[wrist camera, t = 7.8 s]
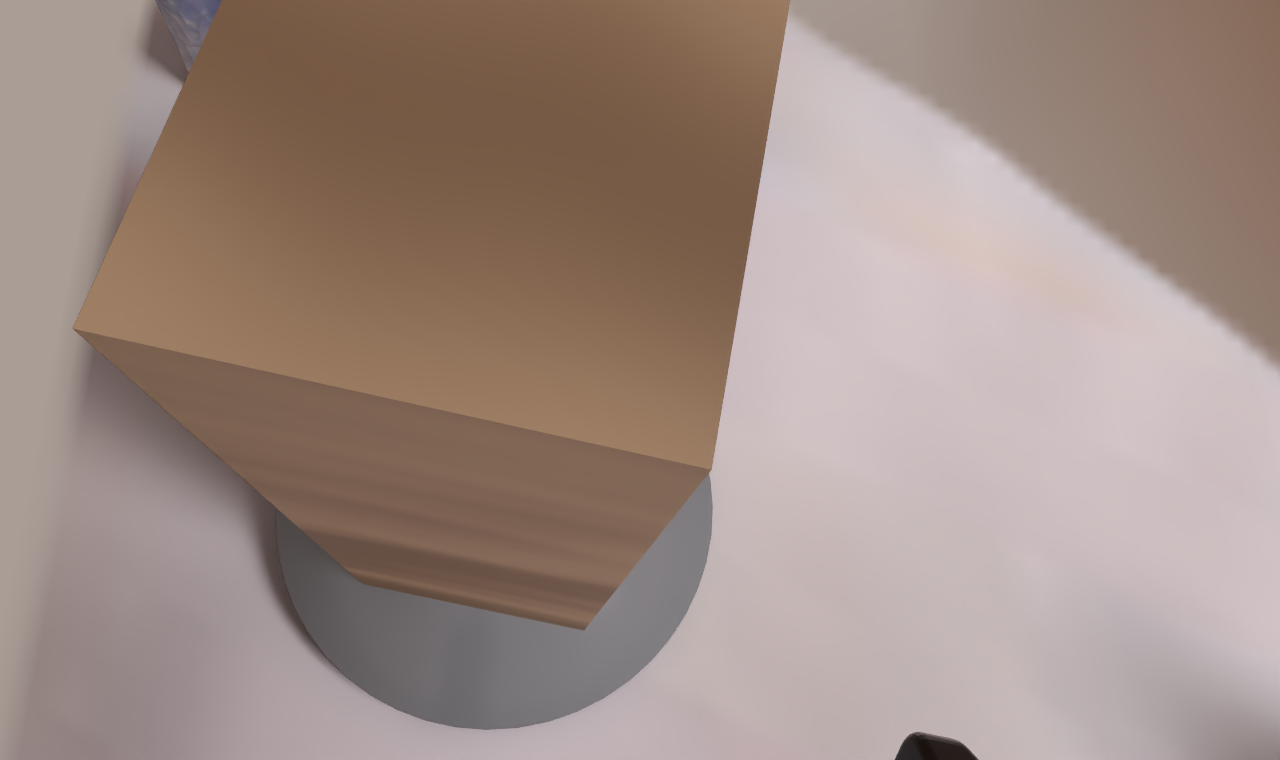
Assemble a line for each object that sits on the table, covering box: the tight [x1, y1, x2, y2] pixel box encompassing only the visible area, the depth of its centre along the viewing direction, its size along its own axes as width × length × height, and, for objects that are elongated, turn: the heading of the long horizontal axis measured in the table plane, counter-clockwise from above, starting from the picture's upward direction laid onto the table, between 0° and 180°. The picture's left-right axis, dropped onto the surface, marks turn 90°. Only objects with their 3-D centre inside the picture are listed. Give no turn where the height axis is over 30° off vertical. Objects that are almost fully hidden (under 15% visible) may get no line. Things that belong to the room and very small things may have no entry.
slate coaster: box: [276, 473, 713, 730], centre depth 20 cm, size 9×9×1 cm
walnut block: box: [73, 0, 790, 631], centre depth 13 cm, size 4×4×13 cm
